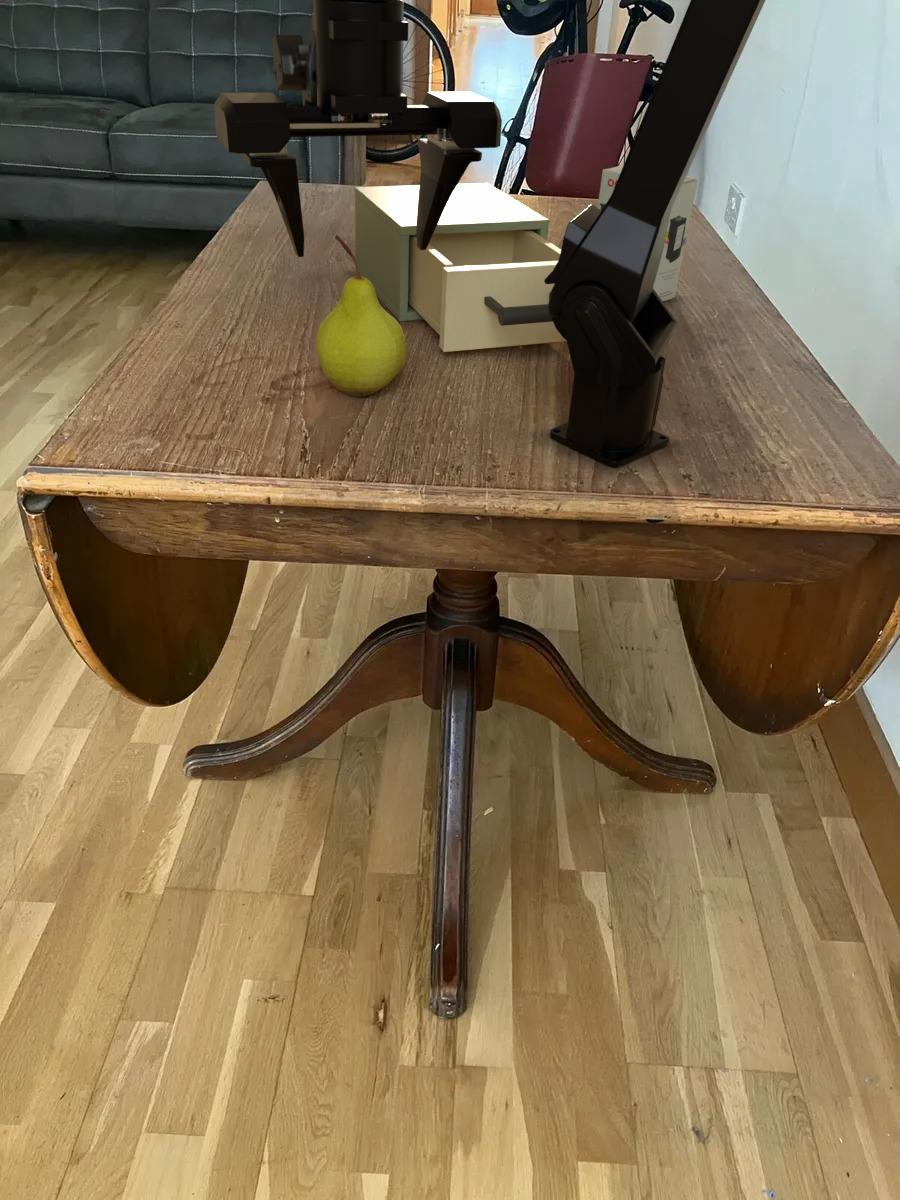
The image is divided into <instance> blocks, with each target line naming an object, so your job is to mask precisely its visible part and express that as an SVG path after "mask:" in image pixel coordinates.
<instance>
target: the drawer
mask: <svg viewBox="0 0 900 1200" xmlns="http://www.w3.org/2000/svg"><path fill="white" fill-rule="evenodd" d="M560 253H561V248H559V247H558V246H557V245H555V244H553V243H552V242H550V241H549V240H548V239H547V240H546V239H544V238H543V237H541V236H539V235H538V234H536V233H535V232H533V231H532V230H509V231H488V232H468V233H447V234H433V235H432V238H431V240H430V242H429V244H428V246H427V249H426V250H420V249H419V248H418V247H417V235H409V268H408V303H409V304H410V305H411V306H412V307H413V308H414V309H415V310H416V311H417V312H418V313H419V314H420V315H421V316H422V317H423V318H424V319H423V320H424V321H425V322H426V323H427V324H428V325H430V327H431V328H432V329H433V330H434V331H435V332H436V334H438V335H439V344H438V345H439V346H438V347H439V349H440V350H441V351H442V352H443V353H448V352H459V351H472V350H483V349H494V348H505V347H506V348H507V347H516V346H517V347H518V346H528V345H539V344H540V345H541V344H552V343H561V342H562V343H563V342H567V340H565V339H564V338H563V337H562V335H561V334H560V333H559V332H558V330H557V329H556V327H555V325H554V322H553V320H552V317H551V316H550V315H549V305H548V303H549V298H550V293H551V290H552V288H553V286H554V284H555V283H554V284H545V282H544V280H545V279H546V278H547V277H548V275H549V274H550V273H551V272H552V271H553V270H554V268H555V266H556V264H557V262H558V260H559V257H560Z"/></svg>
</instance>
